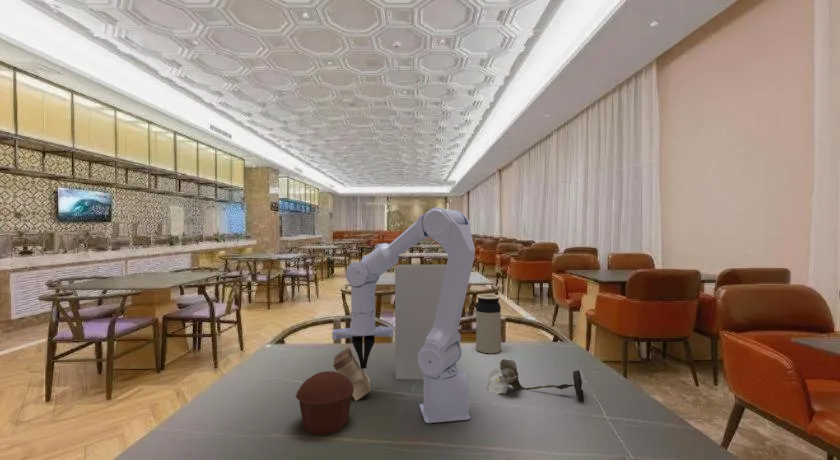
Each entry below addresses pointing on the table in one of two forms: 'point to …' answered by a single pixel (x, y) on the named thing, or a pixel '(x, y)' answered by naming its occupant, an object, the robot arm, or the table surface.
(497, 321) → the travel mug
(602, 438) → the table surface
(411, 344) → the tall grey block
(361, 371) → the maple block
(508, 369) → the artificial flower
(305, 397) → the muffin
